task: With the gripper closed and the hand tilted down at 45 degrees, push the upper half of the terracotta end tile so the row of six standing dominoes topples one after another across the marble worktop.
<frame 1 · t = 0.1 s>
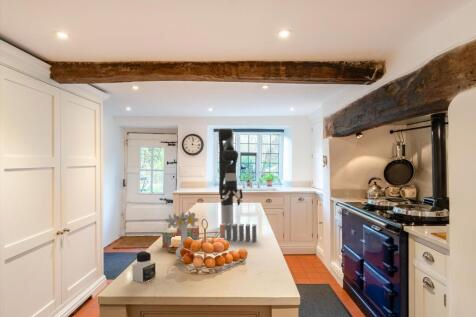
hand: (231, 205, 181), 22 cm above the countertop, tool pointing down, fingers open, 8 cm apart
slate domino 6: (254, 240, 180), on the countertop
slate domino 3: (235, 239, 182), on the countertop
terracotta domino: (222, 239, 184), on the countertop
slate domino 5: (248, 240, 181), on the countertop
medicine bottle: (144, 279, 126), on the countertop
slate domino 4: (241, 240, 181), on the countertop
flower vase: (183, 259, 150), on the countertop
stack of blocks: (181, 246, 171), on the countertop
slate domino 2: (228, 239, 183), on the countertop
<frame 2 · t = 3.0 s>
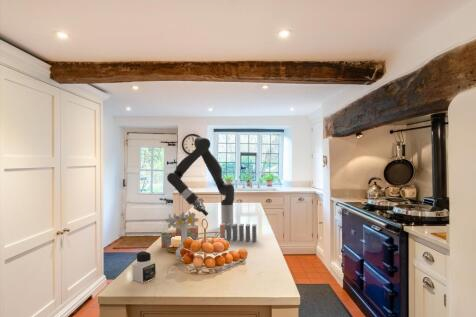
hand: (207, 214, 186), 16 cm above the countertop, tool tilted 45°, fingers closed
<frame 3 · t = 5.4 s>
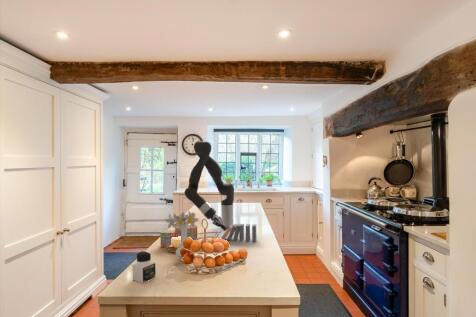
hand: (225, 229, 184), 6 cm above the countertop, tool tilted 45°, fingers closed
slate domino 3: (235, 239, 182), on the countertop, tilted 14°
terracotta domino: (223, 238, 184), point 1 cm above the countertop, tilted 36°
slate domino 2: (229, 238, 183), on the countertop, tilted 26°
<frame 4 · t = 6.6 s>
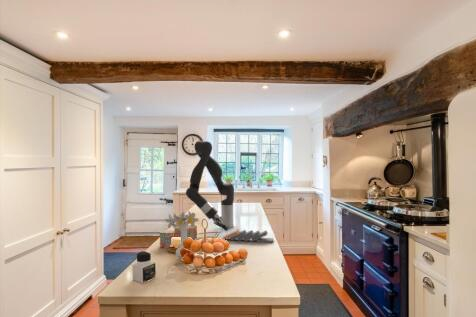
hand: (227, 229, 183), 6 cm above the countertop, tool tilted 45°, fingers closed
slate domino 6: (257, 240, 179), on the countertop, tilted 90°
slate domino 3: (238, 238, 182), point 1 cm above the countertop, tilted 63°, touching slate domino 2, slate domino 4
terracotta domino: (224, 237, 184), point 1 cm above the countertop, tilted 64°
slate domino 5: (252, 239, 180), point 1 cm above the countertop, tilted 63°, touching slate domino 4
slate domino 4: (245, 239, 181), point 1 cm above the countertop, tilted 63°, touching slate domino 3, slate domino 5
slate domino 2: (231, 238, 183), point 1 cm above the countertop, tilted 64°, touching slate domino 3
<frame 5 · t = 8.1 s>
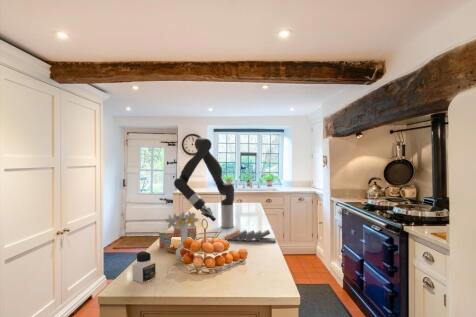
hand: (214, 220, 185), 12 cm above the countertop, tool tilted 45°, fingers closed
slate domino 6: (259, 240, 179), on the countertop, tilted 90°, touching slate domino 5
slate domino 3: (239, 238, 181), point 1 cm above the countertop, tilted 64°, touching slate domino 2, slate domino 4
terracotta domino: (225, 237, 184), point 1 cm above the countertop, tilted 65°, touching slate domino 2
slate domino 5: (255, 238, 180), point 1 cm above the countertop, tilted 66°, touching slate domino 4, slate domino 6
slate domino 4: (246, 239, 181), point 1 cm above the countertop, tilted 64°, touching slate domino 3, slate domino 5
slate domino 2: (232, 238, 183), point 1 cm above the countertop, tilted 65°, touching slate domino 3, terracotta domino
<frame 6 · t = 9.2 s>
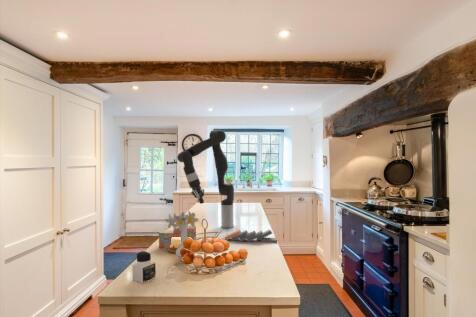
hand: (202, 203, 191), 23 cm above the countertop, tool tilted 20°, fingers closed
slate domino 6: (261, 240, 179), on the countertop, tilted 90°, touching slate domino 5
slate domino 3: (240, 238, 181), point 1 cm above the countertop, tilted 65°, touching slate domino 4
terracotta domino: (226, 237, 184), point 1 cm above the countertop, tilted 66°, touching slate domino 2
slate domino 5: (256, 238, 180), point 1 cm above the countertop, tilted 67°, touching slate domino 4, slate domino 6
slate domino 2: (233, 238, 183), point 1 cm above the countertop, tilted 66°, touching terracotta domino
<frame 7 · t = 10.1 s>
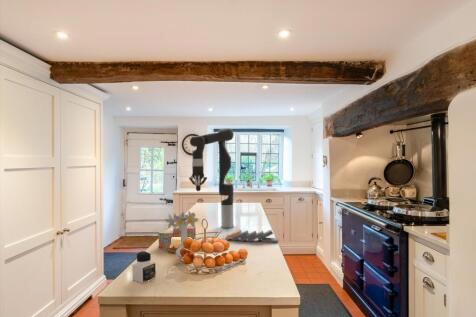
hand: (198, 190, 192), 31 cm above the countertop, tool pointing down, fingers closed
slate domino 3: (241, 239, 181), point 1 cm above the countertop, tilted 65°, touching slate domino 4
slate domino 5: (257, 238, 180), point 1 cm above the countertop, tilted 66°, touching slate domino 6
slate domino 4: (248, 239, 180), point 1 cm above the countertop, tilted 65°, touching slate domino 3
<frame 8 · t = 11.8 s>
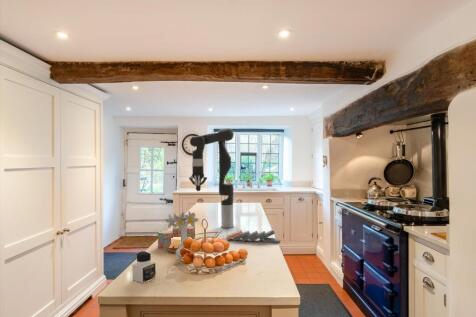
hand: (198, 190, 192), 31 cm above the countertop, tool pointing down, fingers closed
slate domino 6: (264, 240, 178), point 1 cm above the countertop, tilted 90°, touching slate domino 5
slate domino 3: (243, 239, 181), point 1 cm above the countertop, tilted 65°, touching slate domino 2, slate domino 4
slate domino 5: (259, 238, 180), point 1 cm above the countertop, tilted 66°, touching slate domino 6
slate domino 4: (250, 239, 180), point 1 cm above the countertop, tilted 64°, touching slate domino 3
slate domino 2: (234, 238, 183), point 1 cm above the countertop, tilted 67°, touching slate domino 3, terracotta domino
at the end: slate domino 6 tilted 90°; terracotta domino tilted 68° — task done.
